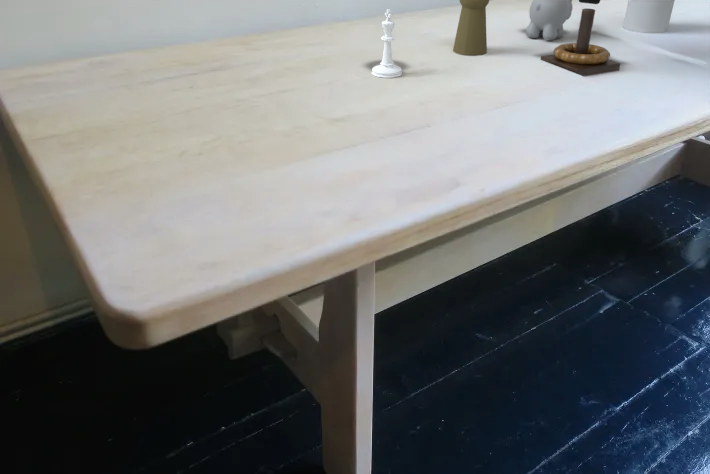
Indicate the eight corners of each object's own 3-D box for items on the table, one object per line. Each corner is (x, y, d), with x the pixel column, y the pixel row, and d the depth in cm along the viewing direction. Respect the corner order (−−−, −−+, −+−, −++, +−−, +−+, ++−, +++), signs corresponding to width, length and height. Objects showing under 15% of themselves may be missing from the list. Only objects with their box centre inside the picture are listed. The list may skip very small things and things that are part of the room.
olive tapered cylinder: (466, 45, 123) (472, -18, 117) (493, 51, 119) (500, -14, 114) (446, 50, 119) (450, -14, 114) (473, 57, 116) (479, -9, 110)
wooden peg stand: (619, 70, 109) (630, 12, 104) (576, 77, 106) (586, 17, 101) (581, 57, 116) (590, 2, 111) (539, 63, 113) (548, 6, 108)
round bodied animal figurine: (583, 33, 131) (591, -12, 127) (551, 44, 124) (559, -4, 119) (551, 27, 135) (557, -17, 131) (518, 37, 128) (524, -9, 124)
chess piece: (379, 79, 104) (381, 13, 99) (366, 71, 108) (367, 7, 103) (407, 75, 106) (410, 11, 101) (393, 67, 110) (395, 5, 105)
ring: (620, 61, 109) (622, 52, 108) (579, 68, 106) (580, 58, 105) (582, 49, 116) (583, 40, 115) (542, 55, 113) (544, 45, 112)
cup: (669, 33, 131) (685, -32, 125) (661, 41, 125) (677, -26, 119) (627, 27, 135) (640, -36, 129) (617, 36, 129) (630, -30, 123)
